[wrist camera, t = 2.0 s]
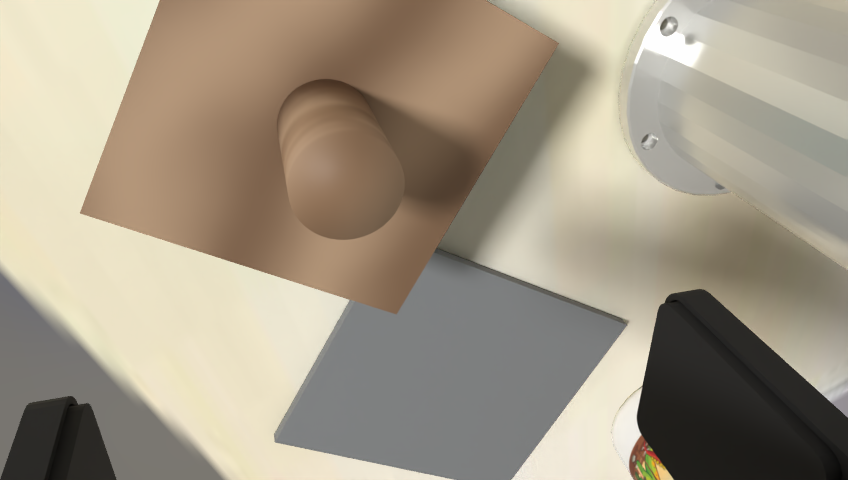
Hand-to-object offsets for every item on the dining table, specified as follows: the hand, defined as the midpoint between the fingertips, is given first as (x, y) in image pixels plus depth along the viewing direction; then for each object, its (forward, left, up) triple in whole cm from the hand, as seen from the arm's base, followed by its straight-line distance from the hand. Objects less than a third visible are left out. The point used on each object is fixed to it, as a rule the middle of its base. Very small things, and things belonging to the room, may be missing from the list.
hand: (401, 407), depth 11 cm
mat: (-15, +12, -21) cm, 28 cm away
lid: (0, 0, -15) cm, 15 cm away
